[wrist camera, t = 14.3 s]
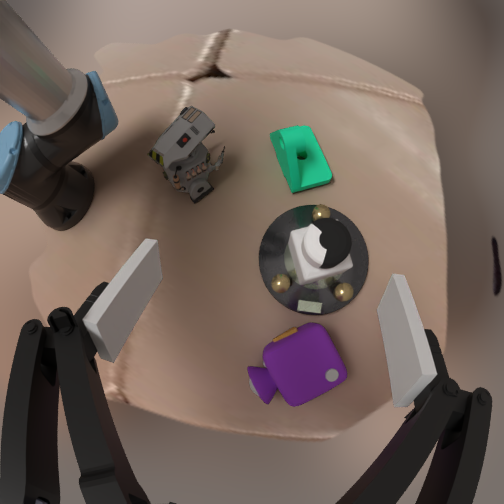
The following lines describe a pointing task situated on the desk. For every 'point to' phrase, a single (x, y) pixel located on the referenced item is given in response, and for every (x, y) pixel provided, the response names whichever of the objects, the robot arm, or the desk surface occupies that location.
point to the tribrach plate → (284, 274)
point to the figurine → (187, 153)
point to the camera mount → (305, 145)
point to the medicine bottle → (320, 250)
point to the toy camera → (298, 366)
